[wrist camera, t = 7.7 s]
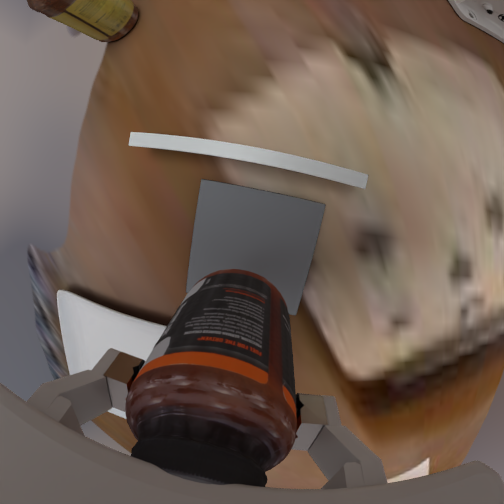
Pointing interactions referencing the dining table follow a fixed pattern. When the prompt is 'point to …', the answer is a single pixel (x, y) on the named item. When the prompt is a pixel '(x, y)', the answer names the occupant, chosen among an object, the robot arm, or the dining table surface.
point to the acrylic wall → (250, 156)
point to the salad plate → (101, 333)
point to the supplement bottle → (219, 385)
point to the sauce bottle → (91, 16)
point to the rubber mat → (255, 236)
